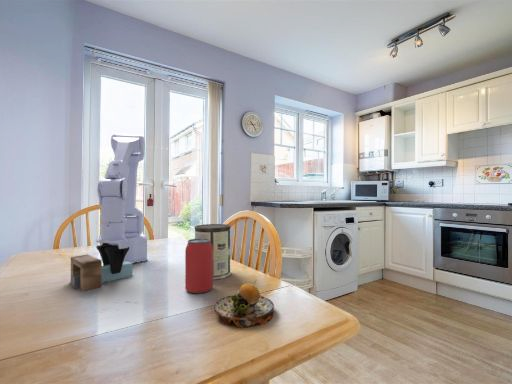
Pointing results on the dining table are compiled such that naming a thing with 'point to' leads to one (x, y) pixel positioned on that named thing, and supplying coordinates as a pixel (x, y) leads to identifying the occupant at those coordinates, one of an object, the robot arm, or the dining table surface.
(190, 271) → the beer can
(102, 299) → the dining table surface
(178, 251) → the dining table surface
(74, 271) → the brown block
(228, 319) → the plated food dish
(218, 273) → the coffee can
